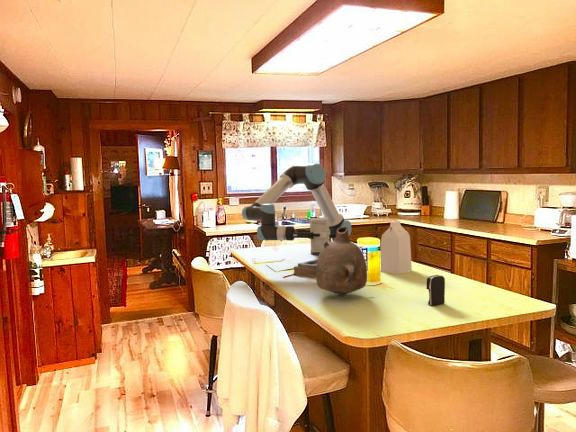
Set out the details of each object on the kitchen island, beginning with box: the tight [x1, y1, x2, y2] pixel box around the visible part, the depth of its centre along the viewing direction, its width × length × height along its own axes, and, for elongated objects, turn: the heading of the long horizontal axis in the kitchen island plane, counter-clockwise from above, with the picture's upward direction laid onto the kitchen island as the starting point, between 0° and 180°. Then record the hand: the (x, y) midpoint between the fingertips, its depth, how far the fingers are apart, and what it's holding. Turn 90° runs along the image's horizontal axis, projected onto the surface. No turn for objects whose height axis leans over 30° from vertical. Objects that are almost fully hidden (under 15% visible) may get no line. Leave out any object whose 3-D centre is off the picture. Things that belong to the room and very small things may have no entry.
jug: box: [315, 226, 368, 297], centre depth 203 cm, size 24×21×30 cm
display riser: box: [293, 258, 318, 279], centre depth 249 cm, size 20×20×6 cm
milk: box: [380, 220, 413, 275], centre depth 248 cm, size 12×12×26 cm
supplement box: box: [309, 217, 329, 253], centre depth 248 cm, size 10×9×17 cm
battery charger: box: [426, 274, 446, 307], centre depth 188 cm, size 7×4×11 cm, turn 117°
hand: (328, 233), depth 246 cm, fingers closed on supplement box, 10 cm apart
